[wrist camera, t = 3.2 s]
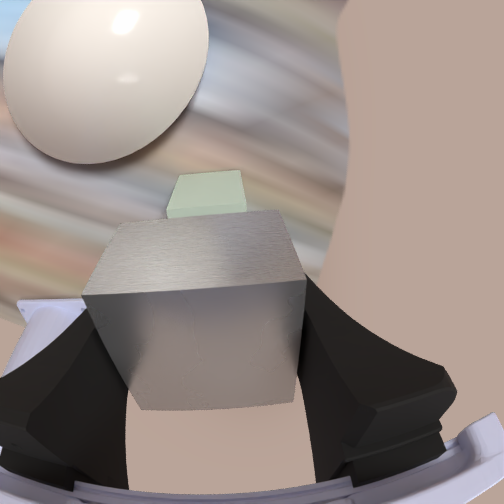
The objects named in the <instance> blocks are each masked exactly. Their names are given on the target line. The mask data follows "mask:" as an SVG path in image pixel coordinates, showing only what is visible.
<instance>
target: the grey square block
mask: <svg viewBox="0 0 504 504" xmlns="http://www.w3.org/2000/svg"><path fill="white" fill-rule="evenodd" d="M306 284H307V279H306V276H305V274H304V271H303V268H302V266H301V263H300V261H299V258H298V256H297V253H296V251H295V248H294V246H293V243H292V241H291V238H290V236H289V234H288V231H287V229H286V226H285V224H284V221H283V219H282V217H281V214H280V212H279V210H267V211H252V212H238V213H225V214H213V215H201V216H189V217H179V218H168V219H158V220H148V221H138V222H129V223H120V225H119V227H118V228H117V230H116V232H115V233H114V235H113V237H112V239H111V240H110V242H109V244H108V246H107V247H106V249H105V251H104V253H103V255H102V256H101V258H100V260H99V262H98V264H97V266H96V267H95V269H94V271H93V273H92V275H91V277H90V279H89V281H88V283H87V285H86V287H85V289H84V291H83V293H82V295H81V296H82V298H83V300H84V303H85V305H86V307H87V310H88V312H89V314H90V316H91V318H92V320H93V323H94V325H95V327H96V329H97V331H98V333H99V335H100V337H101V339H102V341H103V343H104V345H105V347H106V349H107V351H108V353H109V355H110V357H111V359H112V360H113V362H114V364H115V366H116V368H117V370H118V371H119V373H120V375H121V377H122V379H123V380H124V382H125V384H126V385H127V387H128V389H129V391H130V392H131V394H132V396H133V397H134V399H135V400H136V402H137V404H138V405H139V407H140V408H141V410H210V409H211V410H212V409H229V408H242V407H254V406H264V405H273V404H281V403H288V402H293V399H294V392H295V385H296V377H297V369H298V361H299V353H300V344H301V335H302V326H303V316H304V306H305V295H306Z"/></svg>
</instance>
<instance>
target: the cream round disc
mask: <svg viewBox="0 0 504 504" xmlns="http://www.w3.org/2000/svg"><path fill="white" fill-rule="evenodd" d="M208 48H209V31H208V22H207V17H206V14H205V10H204V7H203V4H202V2H201V0H32V1H31V2H30V4H29V5H28V6H27V8H26V9H25V10H24V12H23V13H22V15H21V17H20V19H19V20H18V22H17V24H16V26H15V28H14V30H13V33H12V35H11V38H10V41H9V44H8V47H7V51H6V55H5V61H4V71H3V84H4V92H5V99H6V102H7V106H8V109H9V112H10V114H11V116H12V118H13V121H14V122H15V124H16V126H17V127H18V129H19V131H20V132H21V133H22V134H23V135H24V137H25V138H26V139H27V140H28V141H29V142H30V143H31V144H32V145H34V146H35V147H36V148H37V149H39V150H40V151H42V152H43V153H45V154H47V155H49V156H51V157H53V158H55V159H59V160H62V161H65V162H70V163H76V164H96V163H104V162H108V161H112V160H116V159H119V158H122V157H124V156H127V155H130V154H132V153H133V152H135V151H137V150H139V149H141V148H143V147H144V146H146V145H147V144H149V143H150V142H152V141H153V140H155V139H156V138H157V137H158V136H159V135H160V134H162V133H163V132H164V131H165V130H166V129H167V128H168V127H169V126H170V125H171V124H172V123H173V122H174V121H175V120H176V119H177V118H178V117H179V115H180V114H181V113H182V111H183V110H184V109H185V107H186V106H187V105H188V103H189V102H190V100H191V98H192V96H193V95H194V93H195V91H196V89H197V87H198V85H199V82H200V80H201V78H202V75H203V71H204V68H205V65H206V60H207V54H208Z"/></svg>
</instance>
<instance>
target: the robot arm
mask: <svg viewBox="0 0 504 504" xmlns="http://www.w3.org/2000/svg"><path fill="white" fill-rule="evenodd" d="M304 274H305V273H304ZM305 276H306V279H307V284H306V295H305V306H304V316H303V326H302V335H301V344H300V353H299V361H298V369H297V375H298V378H299V381H300V385H301V389H302V394H303V400H304V405H305V410H306V416H307V422H308V428H309V433H310V441H311V447H312V453H313V462H314V469H315V478H316V483H315V484H310V485H304V486H298V487H292V488H286V489H278V490H270V491H261V492H250V493H236V494H213V495H212V494H207V495H194V494H192V495H191V494H165V493H152V492H141V491H132V490H129V485H128V477H127V466H126V448H125V426H126V425H125V424H126V406H127V405H126V404H127V395H128V387H127V385H126V384H125V382H124V380H123V379H122V377H121V375H120V373H119V371H118V370H117V368H116V366H115V364H114V362H113V360H112V359H111V357H110V355H109V353H108V351H107V349H106V347H105V345H104V343H103V341H102V339H101V337H100V335H99V333H98V331H97V329H96V327H95V325H94V323H93V320H92V318H91V316H90V314H89V312H88V310H87V307H86V305H85V303H84V300H83V299H81V298H78V299H39V300H19V301H18V302H17V307H18V308H19V310H20V312H21V314H22V316H23V317H24V319H25V321H26V322H27V325H26V327H25V329H24V331H23V333H22V335H21V337H20V339H19V341H18V343H17V345H16V347H15V349H14V351H13V353H12V355H11V357H10V359H9V362H8V364H7V366H6V368H5V370H4V373H3V375H2V377H1V378H0V504H466V503H467V502H468V501H470V500H472V499H474V498H475V497H477V496H478V495H480V494H481V493H483V492H484V491H486V490H487V489H489V488H490V487H492V486H493V485H495V484H496V483H497V482H499V481H500V480H502V479H503V478H504V430H503V428H502V426H501V424H500V422H499V420H498V418H497V416H496V414H495V412H492V413H490V414H488V415H487V416H485V417H483V418H481V419H479V420H477V421H475V422H473V423H472V424H470V425H469V426H467V427H466V428H464V429H463V430H462V431H461V432H460V433H459V434H458V436H457V437H455V438H454V439H451V440H449V441H447V442H445V443H443V440H442V438H441V436H440V433H439V432H440V431H441V430H442V425H441V423H440V421H439V419H440V418H441V416H442V415H443V414H444V413H445V412H446V410H447V409H448V408H449V407H450V406H451V404H452V403H453V402H454V400H455V398H456V395H457V390H456V388H455V386H454V384H453V382H452V380H451V378H450V376H449V375H448V373H447V371H446V370H445V368H444V367H443V366H441V365H438V364H435V363H433V362H430V361H427V360H425V359H422V358H419V357H417V356H415V355H413V354H410V353H408V352H406V351H404V350H402V349H400V348H398V347H396V346H394V345H392V344H390V343H389V342H387V341H385V340H384V339H382V338H380V337H379V336H377V335H375V334H374V333H372V332H371V331H369V330H368V329H366V328H365V327H363V326H362V325H360V324H359V323H358V322H356V321H355V320H353V319H352V318H351V317H350V316H348V315H347V314H346V313H345V312H344V311H343V310H341V309H340V308H339V307H338V306H337V305H336V304H335V303H334V302H333V301H332V300H330V299H329V298H328V297H327V296H326V295H325V294H324V293H323V292H322V291H321V290H320V289H319V288H318V287H317V286H316V285H315V284H314V282H313V281H312V280H311V279H310V278H309V277H308V276H307V275H306V274H305ZM83 308H84V309H83Z"/></svg>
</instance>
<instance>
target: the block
mask: <svg viewBox="0 0 504 504" xmlns="http://www.w3.org/2000/svg"><path fill="white" fill-rule="evenodd" d="M166 211H167V217H168V218H179V217H189V216H201V215H213V214H225V213H238V212H247V209H246V199H245V194H244V189H243V184H242V178H241V173H240V170H233V171H220V172H208V173H197V174H187V175H179V178H178V180H177V183H176V185H175V188H174V191H173V193H172V196H171V199H170V201H169V204H168V207H167V209H166Z"/></svg>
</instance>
